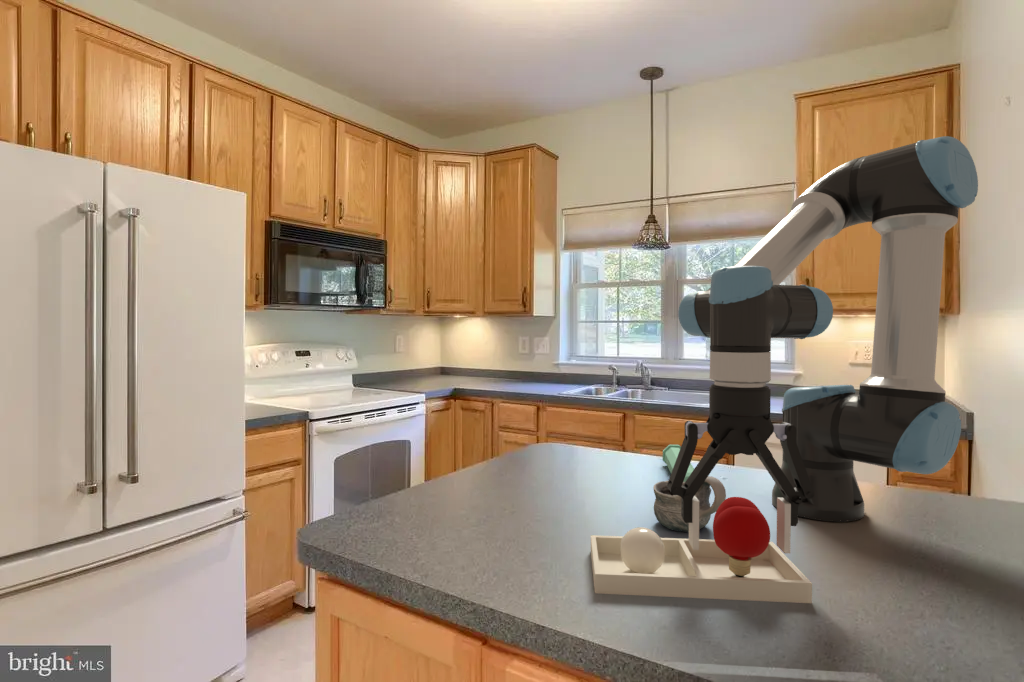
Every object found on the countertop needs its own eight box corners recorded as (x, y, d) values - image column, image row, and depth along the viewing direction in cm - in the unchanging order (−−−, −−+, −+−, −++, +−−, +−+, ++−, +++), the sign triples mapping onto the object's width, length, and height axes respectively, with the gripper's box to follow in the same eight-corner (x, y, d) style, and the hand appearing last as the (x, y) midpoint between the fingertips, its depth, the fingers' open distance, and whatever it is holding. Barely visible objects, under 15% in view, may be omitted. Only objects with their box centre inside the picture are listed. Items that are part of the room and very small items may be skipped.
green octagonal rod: (699, 467, 110) (680, 440, 135) (670, 477, 111) (657, 448, 136) (710, 495, 110) (690, 462, 135) (682, 504, 111) (667, 470, 136)
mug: (671, 515, 100) (671, 460, 100) (740, 533, 91) (740, 473, 91) (642, 529, 93) (642, 470, 93) (713, 550, 84) (713, 485, 84)
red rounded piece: (776, 596, 68) (780, 516, 68) (717, 589, 70) (720, 511, 69) (758, 564, 78) (761, 494, 77) (706, 558, 79) (709, 490, 79)
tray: (772, 562, 80) (772, 541, 79) (811, 607, 67) (812, 583, 67) (590, 555, 82) (590, 535, 82) (594, 597, 69) (594, 574, 69)
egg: (660, 563, 78) (661, 521, 78) (668, 583, 72) (668, 537, 72) (617, 562, 78) (617, 520, 78) (622, 581, 72) (622, 536, 72)
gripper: (818, 381, 76) (817, 540, 76) (645, 380, 78) (645, 534, 79) (846, 387, 68) (844, 563, 69) (654, 385, 71) (653, 555, 71)
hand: (738, 547), depth 74 cm, fingers open, 11 cm apart
